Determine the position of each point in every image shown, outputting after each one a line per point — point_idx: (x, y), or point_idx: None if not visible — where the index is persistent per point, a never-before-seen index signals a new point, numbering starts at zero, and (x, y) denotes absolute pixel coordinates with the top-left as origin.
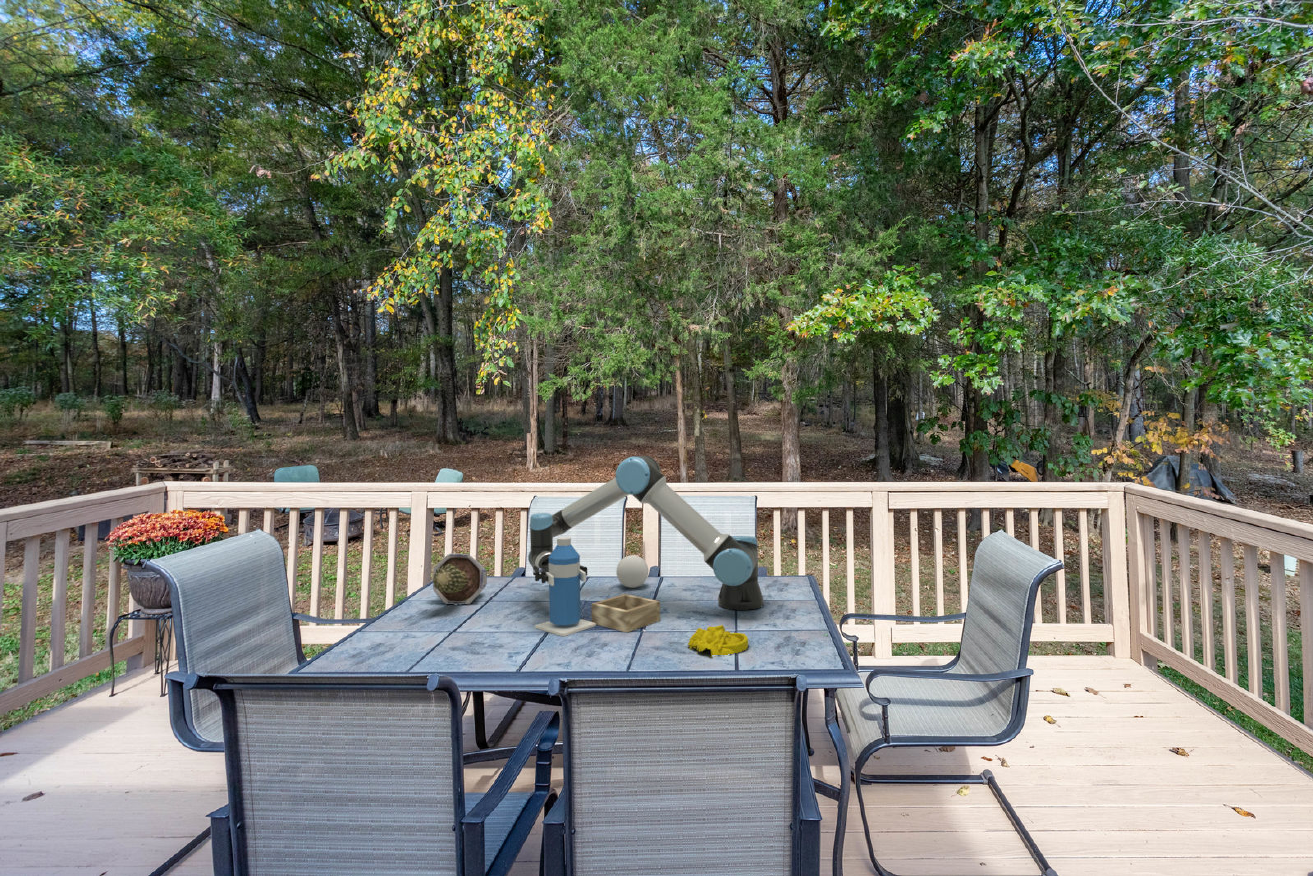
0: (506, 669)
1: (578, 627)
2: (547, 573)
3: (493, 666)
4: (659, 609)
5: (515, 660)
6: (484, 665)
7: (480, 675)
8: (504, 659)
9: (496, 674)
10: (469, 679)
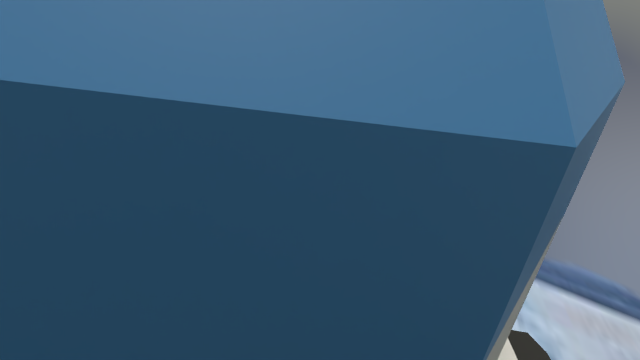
0: (538, 288)
1: None
2: (509, 349)
3: (586, 322)
4: None
5: (523, 325)
6: (622, 342)
7: (603, 292)
8: (565, 350)
9: (559, 278)
10: (624, 287)
